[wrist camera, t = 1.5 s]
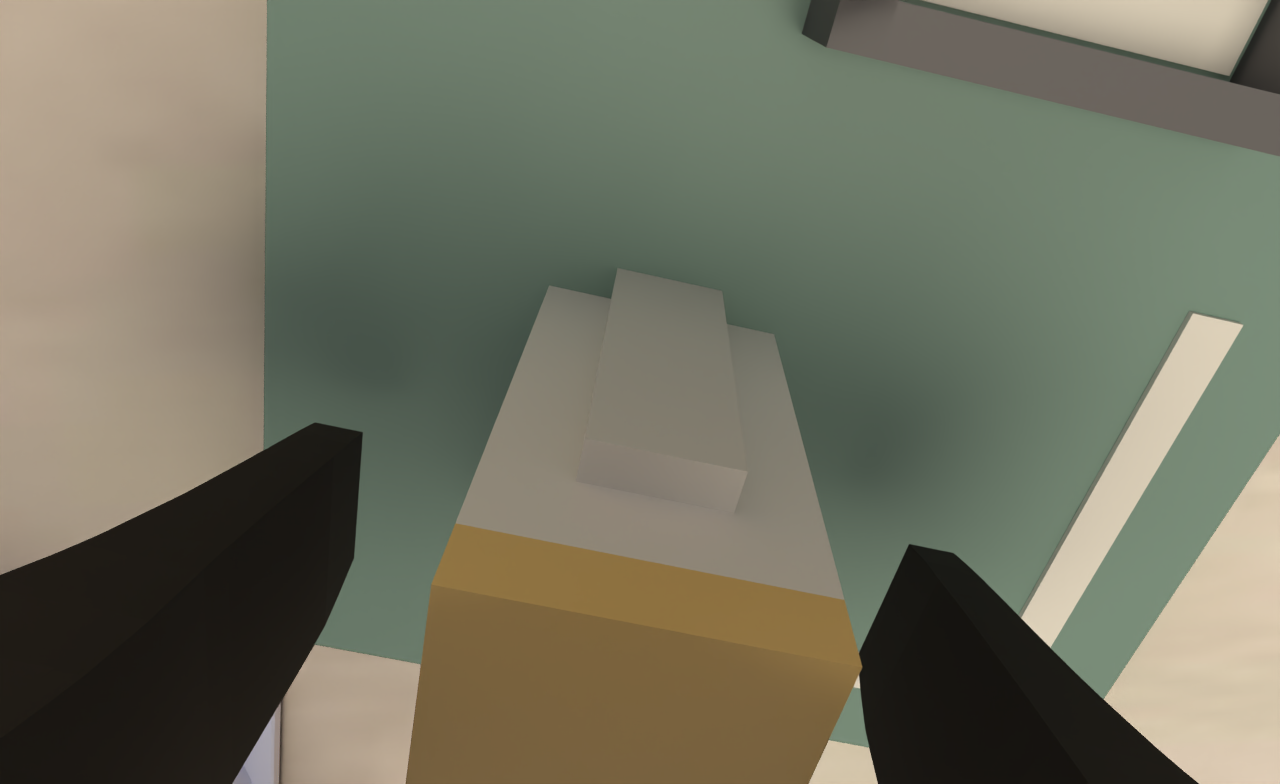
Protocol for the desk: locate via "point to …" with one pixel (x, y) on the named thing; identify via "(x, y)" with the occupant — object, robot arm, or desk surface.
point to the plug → (636, 564)
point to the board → (803, 266)
